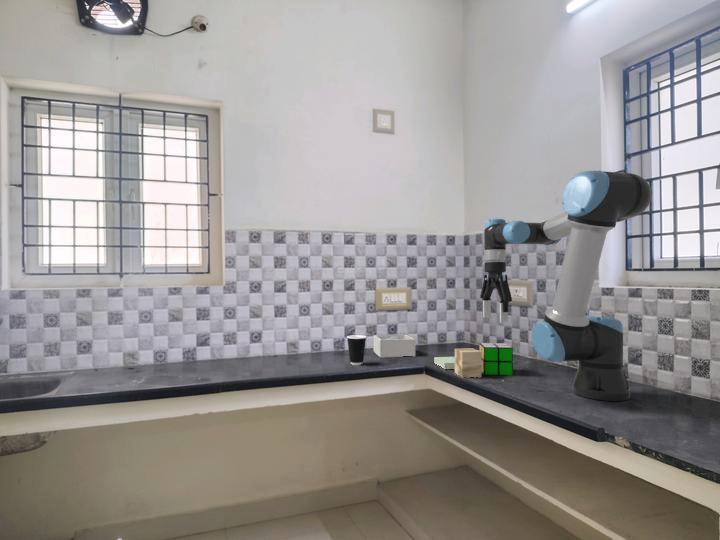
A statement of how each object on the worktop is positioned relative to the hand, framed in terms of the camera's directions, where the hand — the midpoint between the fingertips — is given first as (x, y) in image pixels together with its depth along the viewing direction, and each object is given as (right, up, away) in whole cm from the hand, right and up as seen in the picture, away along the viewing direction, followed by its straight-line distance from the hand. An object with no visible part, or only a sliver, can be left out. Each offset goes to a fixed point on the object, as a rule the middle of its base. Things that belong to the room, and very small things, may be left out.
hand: (495, 319), depth 161 cm
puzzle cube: (0, -20, 0) cm, 20 cm away
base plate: (-13, -19, +11) cm, 26 cm away
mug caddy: (-34, -20, +38) cm, 55 cm away
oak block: (-11, -19, -5) cm, 23 cm away
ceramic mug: (-34, -20, +37) cm, 54 cm away
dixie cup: (-51, -20, +15) cm, 57 cm away
